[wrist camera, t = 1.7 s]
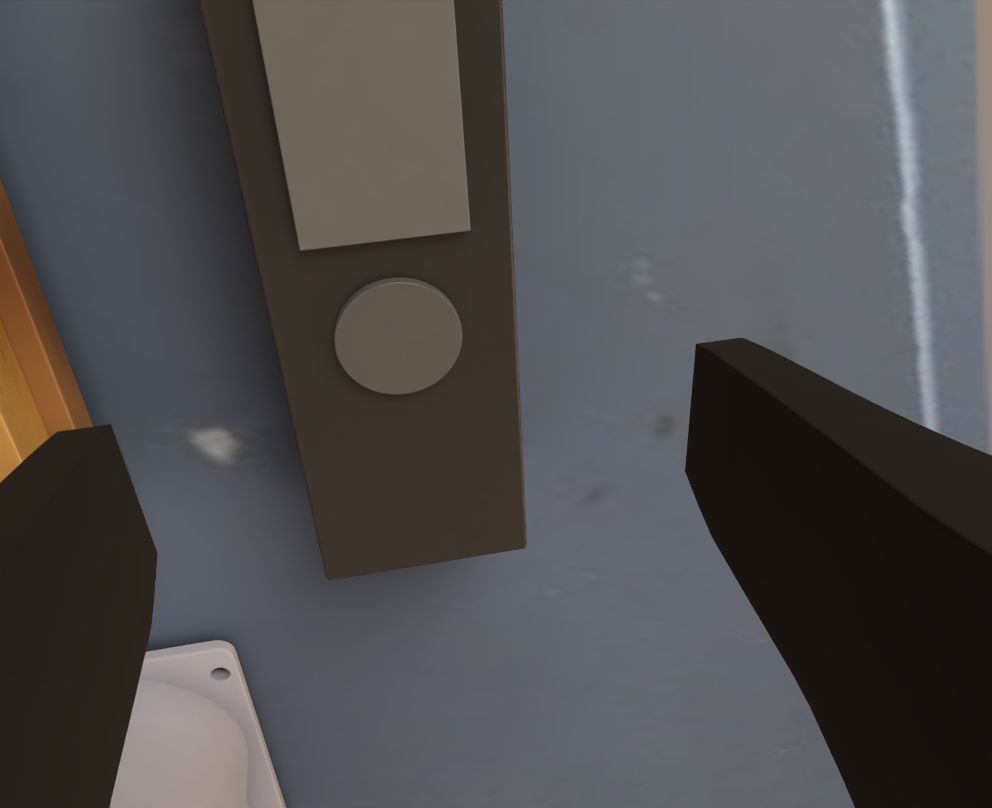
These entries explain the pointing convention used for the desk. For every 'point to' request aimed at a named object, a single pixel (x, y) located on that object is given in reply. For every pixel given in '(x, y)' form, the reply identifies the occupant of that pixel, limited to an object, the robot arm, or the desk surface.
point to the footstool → (30, 357)
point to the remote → (384, 263)
